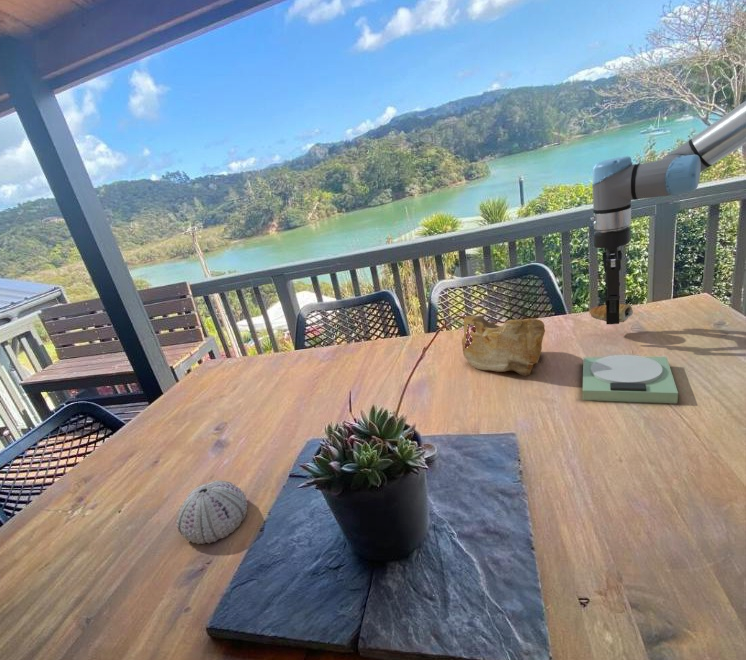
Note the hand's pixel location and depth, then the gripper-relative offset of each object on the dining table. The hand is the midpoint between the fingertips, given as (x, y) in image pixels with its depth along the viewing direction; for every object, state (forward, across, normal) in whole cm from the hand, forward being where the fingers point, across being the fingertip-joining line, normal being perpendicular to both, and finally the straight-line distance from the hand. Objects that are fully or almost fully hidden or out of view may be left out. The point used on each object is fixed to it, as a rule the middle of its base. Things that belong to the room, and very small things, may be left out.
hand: (612, 317), depth 112 cm
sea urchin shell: (+6, +83, -67) cm, 107 cm away
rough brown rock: (+6, +15, -22) cm, 28 cm away
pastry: (+1, 0, 0) cm, 1 cm away
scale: (+6, +25, +2) cm, 26 cm away
